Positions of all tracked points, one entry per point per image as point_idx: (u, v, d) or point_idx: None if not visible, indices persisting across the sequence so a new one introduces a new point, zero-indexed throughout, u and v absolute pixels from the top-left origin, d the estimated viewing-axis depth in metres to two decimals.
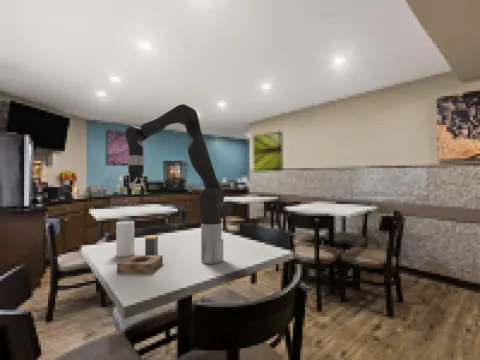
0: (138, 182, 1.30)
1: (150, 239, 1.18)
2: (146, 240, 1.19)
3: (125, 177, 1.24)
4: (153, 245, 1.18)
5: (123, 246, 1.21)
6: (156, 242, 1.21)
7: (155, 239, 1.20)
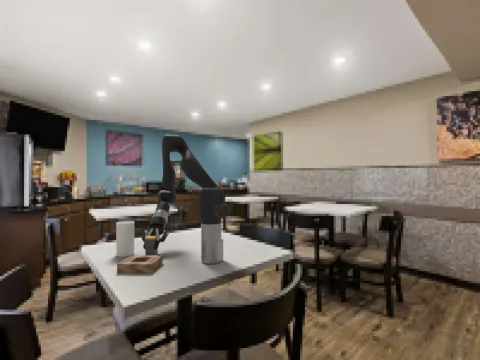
0: (153, 233, 1.24)
1: (150, 239, 1.18)
2: (146, 240, 1.19)
3: None
4: (153, 244, 1.18)
5: (123, 246, 1.21)
6: None
7: (155, 239, 1.20)
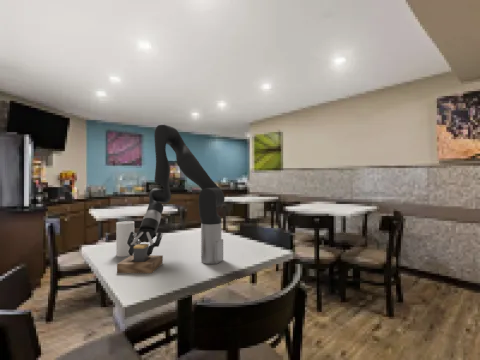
0: (144, 238, 1.07)
1: (139, 248, 1.02)
2: (135, 249, 1.02)
3: None
4: (143, 255, 1.01)
5: (123, 246, 1.21)
6: (146, 251, 1.04)
7: (145, 248, 1.03)
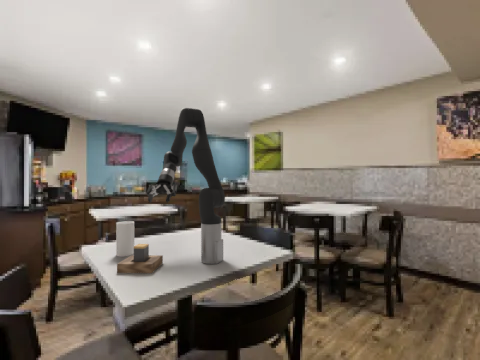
0: (162, 189, 1.25)
1: (139, 248, 1.02)
2: (135, 249, 1.02)
3: None
4: (143, 255, 1.01)
5: (123, 246, 1.21)
6: (147, 251, 1.04)
7: (145, 248, 1.03)
